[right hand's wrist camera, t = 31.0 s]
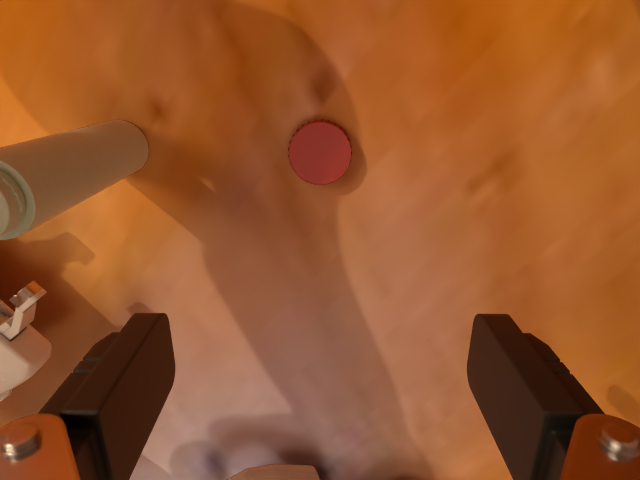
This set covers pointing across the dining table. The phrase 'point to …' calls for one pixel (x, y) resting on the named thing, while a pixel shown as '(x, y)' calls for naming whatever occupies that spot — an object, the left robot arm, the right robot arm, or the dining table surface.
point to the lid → (320, 152)
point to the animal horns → (278, 473)
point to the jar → (64, 171)
